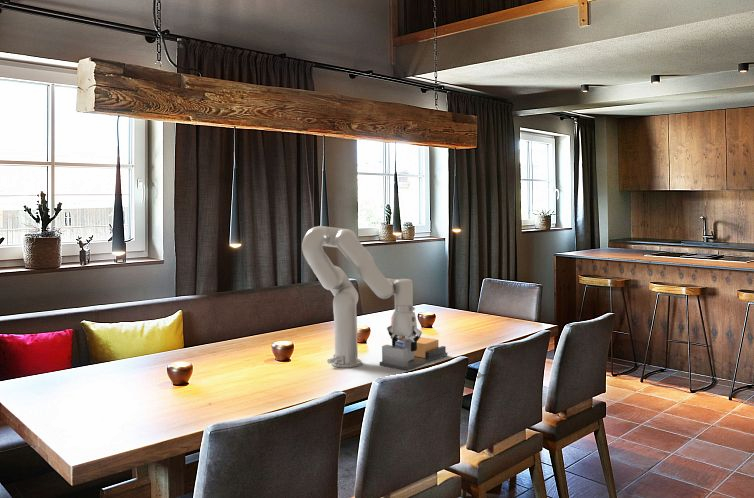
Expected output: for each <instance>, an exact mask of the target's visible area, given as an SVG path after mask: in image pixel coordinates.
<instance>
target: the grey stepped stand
mask: <svg viewBox="0 0 754 498" xmlns="http://www.w3.org/2000/svg"><path fill="white" fill-rule="evenodd" d="M446 348H447V347H446V346H444V345H442V346H438V348H435V349H433V350H430V351H427V352H426V358H422V357H417V356H414V359H413V360H410V361H408V348H404V347H398V346H392V344H383V345H382V346H381V351H382V352H381V355H382V356H381V357H382V358H381V361H379V362H378V363H379V366H380V367H384V368H385V367H386V368H390V369H394V370H400V371H406V372H408V371H410V370H413V369H416V368H418V367H421V366H424V365H426V364H429V363H432V362H435V361H437V360H441V359H443V358H446V357H448V352H446Z"/></svg>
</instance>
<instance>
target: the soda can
mask: <svg viewBox="0 0 754 498" xmlns="http://www.w3.org/2000/svg"><path fill="white" fill-rule="evenodd" d="M393 314H394V313H393ZM393 314H392V315H391V318H390V319H391V321H390V322H391V323H390V324H391V325H392V321H393ZM391 325H390V326H391ZM397 338H398V340H402V339H405V338H406V337H405V336H397Z"/></svg>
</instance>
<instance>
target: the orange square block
mask: <svg viewBox="0 0 754 498" xmlns="http://www.w3.org/2000/svg"><path fill="white" fill-rule="evenodd" d="M438 347H439V339H438V338H430V337H423V336H420V338H419V339H418V341H417V350H416V351H414V356H417V357H422V358H426V352H427V351H430V350H433V349H435V348H438Z"/></svg>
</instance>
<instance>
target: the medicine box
mask: <svg viewBox="0 0 754 498" xmlns="http://www.w3.org/2000/svg"><path fill="white" fill-rule="evenodd" d="M411 342H412V340H411V339H410V337H405V338H403V339H398V341H396V342H395V346H398V347H404V348H408V361H410V360H413V359H414V351H413V352H412V351H411Z"/></svg>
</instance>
